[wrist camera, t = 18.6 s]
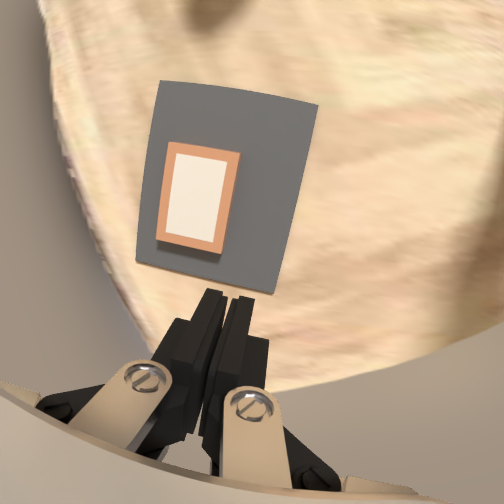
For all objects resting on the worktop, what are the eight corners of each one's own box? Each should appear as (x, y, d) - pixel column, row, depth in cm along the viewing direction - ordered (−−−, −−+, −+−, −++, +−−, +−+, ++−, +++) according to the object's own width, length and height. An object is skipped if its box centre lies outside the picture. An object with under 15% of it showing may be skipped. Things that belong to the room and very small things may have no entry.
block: (242, 152, 30) (174, 141, 30) (239, 153, 28) (168, 141, 28) (224, 248, 33) (161, 234, 33) (221, 254, 32) (155, 239, 32)
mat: (161, 80, 28) (160, 80, 28) (318, 105, 28) (318, 105, 27) (136, 259, 35) (135, 260, 35) (273, 291, 35) (273, 293, 34)
